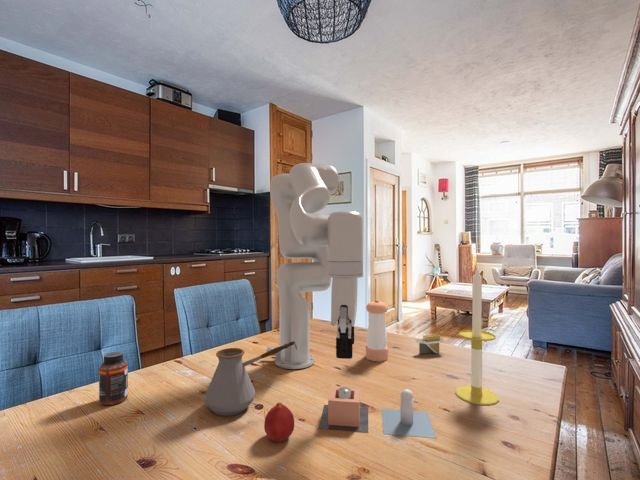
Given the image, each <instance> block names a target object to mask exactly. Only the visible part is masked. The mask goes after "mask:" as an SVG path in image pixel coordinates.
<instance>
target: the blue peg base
mask: <svg viewBox="0 0 640 480" xmlns="http://www.w3.org/2000/svg"><path fill="white" fill-rule="evenodd" d="M381 418H382V419H381V420H382V428H383V431H382V432H383V435H389V436H391V435H392V436H403V437H413V438H414V437H415V438H427V439H428V438H429V439H437V436H436V433H435V432H436V431H435V430H434V426H433V423H432V422H431V421H432V420H431V418H430V416H429V412H428V411H423V410H422V411H419V410H414V394H413V392H412V391H411V390H410V389H408V388H405V389H403V390H402V391H401V392H400V409H390V408H381Z"/></svg>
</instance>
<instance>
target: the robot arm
mask: <svg viewBox="0 0 640 480" xmlns="http://www.w3.org/2000/svg"><path fill="white" fill-rule="evenodd" d="M339 183H340V176H339V173H338V171H337V170H336V168H335V166H332V165H330V164H323V163H322V164H321V163H308V162H302V163H301V162H300V163H297V164H295V165H293V166H292V168H291V169H290V170H289V173H280V174H276V175H275V176H273V177H272V178H271V181H270V187H269V192H270V193H269V194H270V195H269V196H270V201H271V204H272V206H273V207H272V208H273V209H274V212H275V214H276V219H277V231H278V233H277V234H278V246H279V251H280V252H279V253H280V255H281V256H282V257H283V258H285V259H293V260H294V259H295V260H296V259H301V260H304V259H310V260H312V261H310V262H309V261H308V262H306V261H305V262H304V261H299V262H298V261H297V262H286V263H283V264H282V265H280V266H279V267H278V268H277V271H276V282H277V283H276V284H277V289H278V291H277V292H278V299H279V305H278V306H279V320H278V321H279V325H278V326H279V330H278V331H279V333H278V335H279V336H278V337H279V346H278V347H280V346H283V345H284V344H288V343H290V342H293V341H295V343H296V345H292V346H289V347H288V348H287V349H286V348H285V349H283V350H281V351H280V352H278V353H276V354H273V355H271V356H274V357H275V358H274V364H275V366H277V367H279V368H282V369H286V370H287V369H288V370H300V369H306V368H308V367H312V366H313V364H314V363H315V357H314V355H313V354H310V325H311V324H310V322H311V321H310V320H311V318H310V313H311V312H310V311H311V310H310V304H309V303H308V301H307V299H306V298H305V297H304V296H303V295H302V294H303V293H310V292H313V293H314V292H315V293H316V292H324V291H327V290H328V289H330V287H331V296H330V297H331V300H330V301H331V302H330V303H331V304H330V305H331V306H330V325H331V326H332V327H334V326H335V325H337V326H336V337H335V357H336V358H337V359H344V360H345V359H347V360H348V359H349V360H351V359H353V345H354V344H355V323H356V320H357V319H356V318H357V311H358V278H363V277H364V251H363V250H364V238H363V237H364V235H363V232H364V229H363V228H364V225H363V223H364V220H363V216H362V214H361V213H360V212H358V211H350V210H349V211H348V210H346V211H344V210H343V211H341V210H340V211H334V212H331V213H318V212H320V211H322V210H323V209H324V208H325V207H326V206H328V204H329V202H330V197H331V196H332V195H333V194H334V193H336V191H337V189H338V188H339ZM295 346H297V349H296V348H295ZM274 348H275V347H267V348H266V352H268V351H270V350H272V349H274ZM271 356H270V357H271Z"/></svg>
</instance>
